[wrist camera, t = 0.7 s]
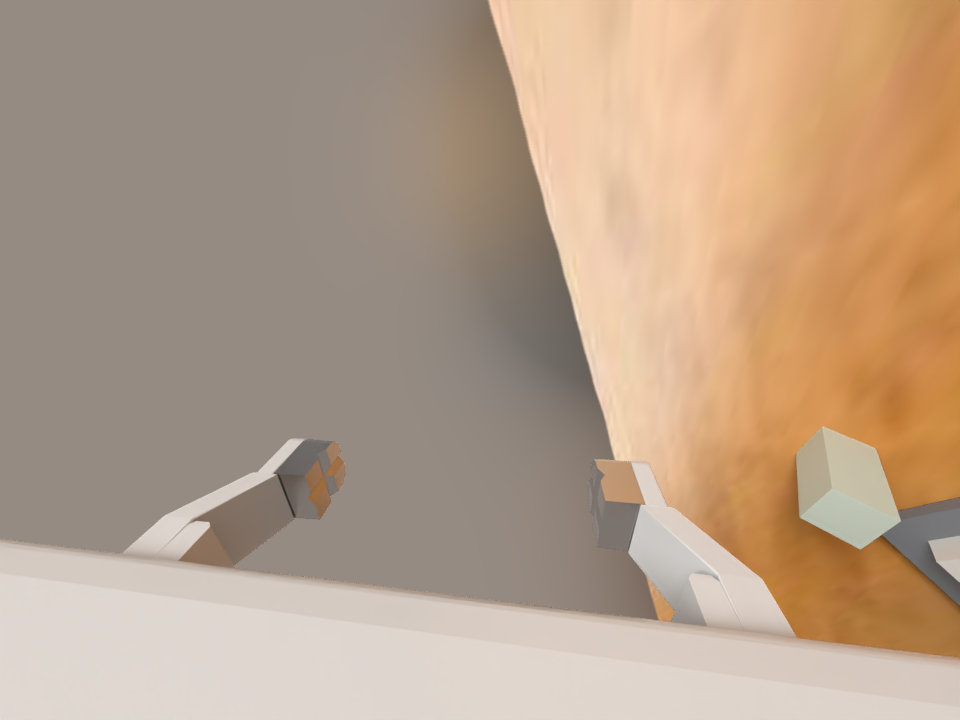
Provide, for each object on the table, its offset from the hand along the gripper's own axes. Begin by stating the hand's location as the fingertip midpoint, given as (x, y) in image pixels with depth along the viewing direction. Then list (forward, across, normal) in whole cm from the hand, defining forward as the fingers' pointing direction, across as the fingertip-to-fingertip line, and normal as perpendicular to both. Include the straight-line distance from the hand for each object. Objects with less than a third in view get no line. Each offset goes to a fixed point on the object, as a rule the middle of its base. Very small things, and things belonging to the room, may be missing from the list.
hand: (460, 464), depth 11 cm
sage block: (+30, -40, +22) cm, 54 cm away
